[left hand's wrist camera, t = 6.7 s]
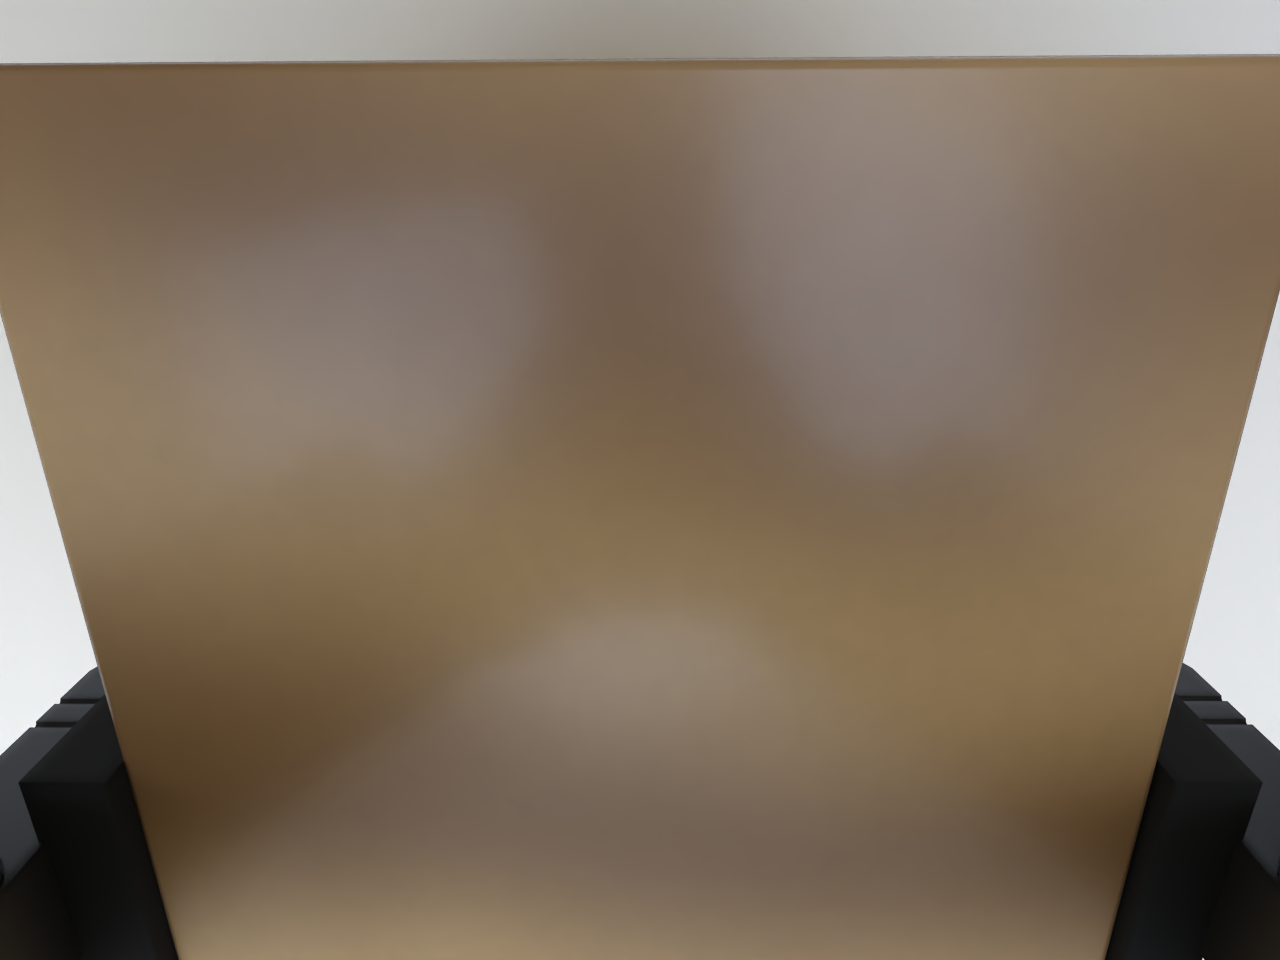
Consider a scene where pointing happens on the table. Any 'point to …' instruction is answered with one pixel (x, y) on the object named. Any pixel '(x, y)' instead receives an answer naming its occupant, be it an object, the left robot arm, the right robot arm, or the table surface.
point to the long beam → (640, 483)
